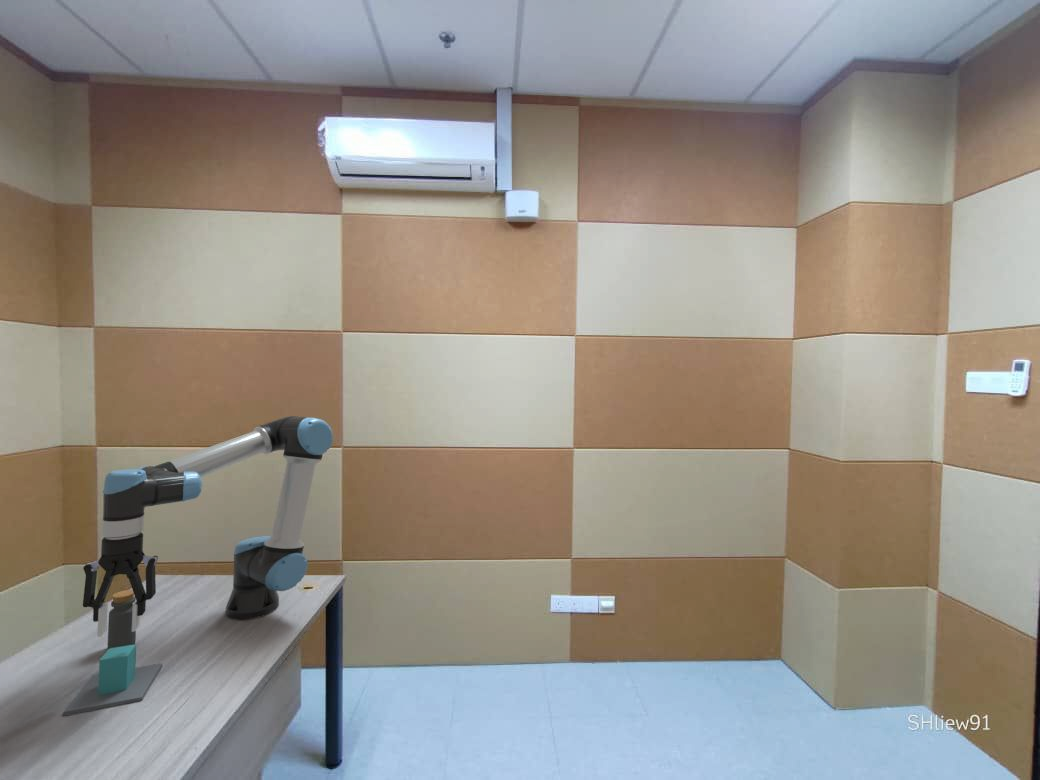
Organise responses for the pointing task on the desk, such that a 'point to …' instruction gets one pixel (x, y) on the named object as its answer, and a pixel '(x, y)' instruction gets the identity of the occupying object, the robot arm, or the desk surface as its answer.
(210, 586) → the desk surface
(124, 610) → the bottle
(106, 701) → the stand
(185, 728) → the desk surface
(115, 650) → the teal rectangular block
